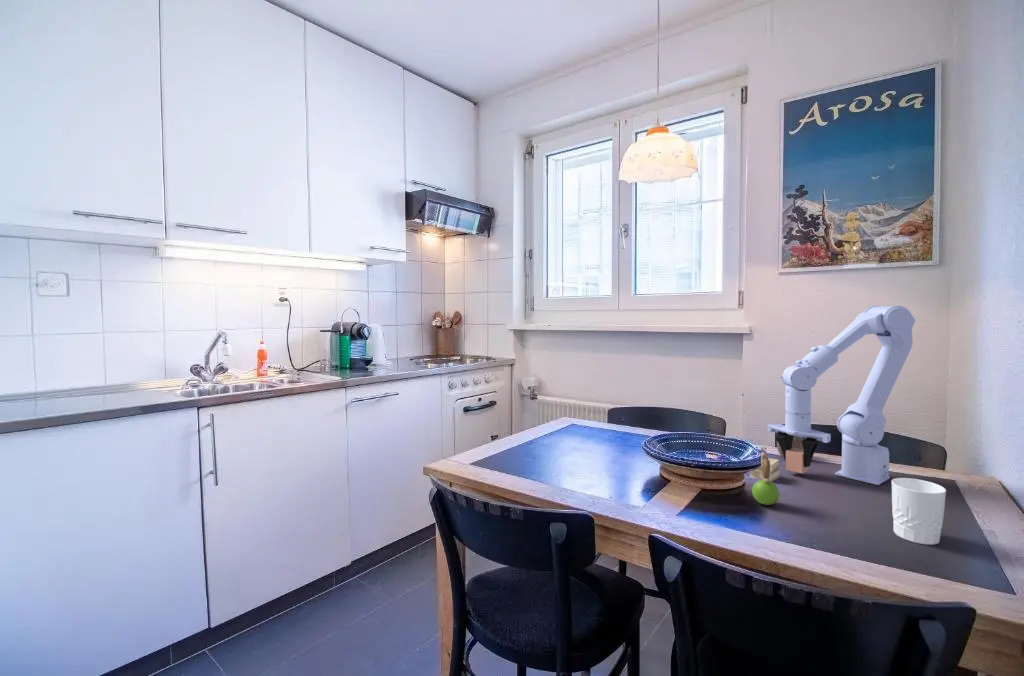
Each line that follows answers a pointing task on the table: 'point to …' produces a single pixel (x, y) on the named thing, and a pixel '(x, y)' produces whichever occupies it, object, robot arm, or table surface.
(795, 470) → the block
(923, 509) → the white cup
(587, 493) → the table surface
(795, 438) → the vase
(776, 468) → the tower top
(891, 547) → the table surface
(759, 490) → the snail figurine
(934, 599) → the table surface
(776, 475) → the tower base
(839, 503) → the table surface
